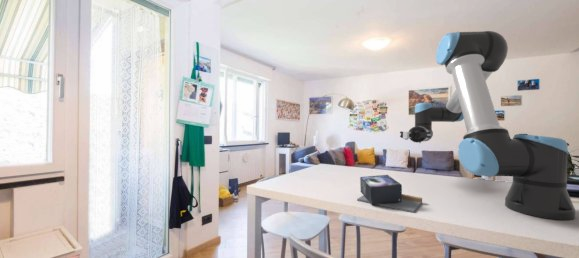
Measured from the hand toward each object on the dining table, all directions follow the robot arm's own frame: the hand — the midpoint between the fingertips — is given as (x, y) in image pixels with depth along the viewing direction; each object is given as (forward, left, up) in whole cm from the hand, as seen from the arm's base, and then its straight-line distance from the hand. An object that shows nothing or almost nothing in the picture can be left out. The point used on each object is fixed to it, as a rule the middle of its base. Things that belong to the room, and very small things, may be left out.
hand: (404, 135), depth 98 cm
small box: (+6, +17, -17) cm, 25 cm away
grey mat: (0, +19, -22) cm, 29 cm away
